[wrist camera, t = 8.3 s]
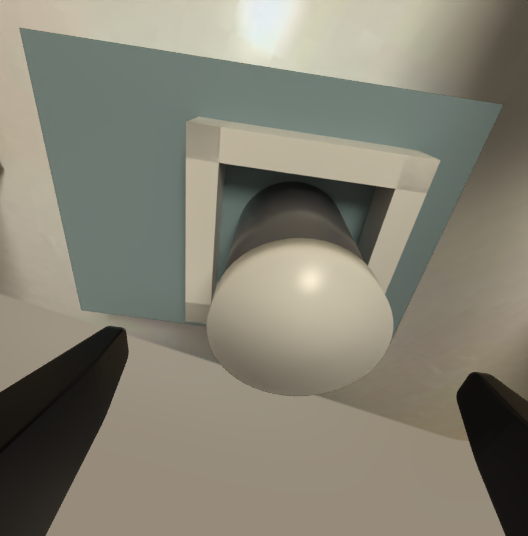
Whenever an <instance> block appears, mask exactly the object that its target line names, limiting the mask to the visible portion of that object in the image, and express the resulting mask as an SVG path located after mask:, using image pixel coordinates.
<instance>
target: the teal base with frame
mask: <svg viewBox="0 0 528 536" xmlns="http://www.w3.org/2000/svg"><path fill="white" fill-rule="evenodd" d="M19 29H20V33H21V38H22V42H23V47H24V51H25V56H26V61H27V65H28V70H29V74H30V79H31V83H32V88H33V92H34V97H35V102H36V106H37V111H38V115H39V120H40V124H41V129H42V133H43V138H44V143H45V147H46V152H47V156H48V161H49V165H50V170H51V174H52V179H53V184H54V188H55V193H56V197H57V202H58V206H59V211H60V215H61V220H62V225H63V229H64V234H65V238H66V243H67V247H68V252H69V256H70V261H71V266H72V270H73V275H74V279H75V284H76V288H77V293H78V297H79V302H80V307H81V310H84V311H91V312H99V313H107V314H115V315H123V316H130V317H138V318H146V319H154V320H161V321H169V322H177V323H185V324H192V325H200V326H206V325H207V317H208V313H209V310H210V307H211V304H212V300H213V297H214V294H215V291H216V287H217V285H218V283H219V281H220V279H221V277H222V276H223V274H224V271H225V268H226V264H227V261H228V257H229V254H230V250H231V247H232V243H233V240H234V237H235V233H236V230H237V226H238V223H239V219H240V216H241V213H242V211H243V209H244V208H245V206H246V204H247V203H248V202H249V201H250V199H251V198H252V197H253V196H255V195H256V194H257V193H258V192H260V191H261V190H263V189H264V188H266V187H268V186H271V185H274V184H277V183H281V182H291V181H293V182H302V183H307V184H310V185H313V186H315V187H317V188H319V189H321V190H322V191H324V192H325V193H326V194H327V195H328V196H329V197H331V199H332V200H333V201H334V202H335V204H336V205H337V207H338V209H339V211H340V213H341V215H342V217H343V219H344V221H345V223H346V225H347V227H348V229H349V231H350V233H351V235H352V237H353V239H354V242H355V244H356V246H357V248H358V250H359V252H360V254H361V256H362V258H363V260H364V262H365V263H366V264H367V266H368V267H369V268H370V269H371V270H372V272H373V273H374V275H375V277H376V279H377V280H378V282H379V284H380V286H381V288H382V290H383V292H384V294H385V296H386V298H387V300H388V302H389V305H390V308H391V310H392V316H393V333H392V338H393V336H394V334H395V332H396V330H397V328H398V325H399V323H400V321H401V319H402V317H403V315H404V313H405V311H406V309H407V306H408V304H409V302H410V300H411V298H412V296H413V294H414V292H415V290H416V288H417V285H418V283H419V281H420V279H421V277H422V275H423V273H424V271H425V269H426V266H427V264H428V262H429V260H430V258H431V256H432V254H433V252H434V250H435V247H436V245H437V243H438V241H439V239H440V237H441V235H442V233H443V231H444V229H445V226H446V224H447V222H448V220H449V218H450V216H451V214H452V212H453V210H454V207H455V205H456V203H457V201H458V199H459V197H460V195H461V193H462V191H463V188H464V186H465V184H466V182H467V180H468V178H469V176H470V174H471V172H472V170H473V167H474V165H475V163H476V161H477V159H478V157H479V155H480V153H481V151H482V148H483V146H484V144H485V142H486V140H487V138H488V136H489V134H490V132H491V129H492V127H493V125H494V123H495V121H496V119H497V117H498V115H499V113H500V110H501V108H502V106H503V105H502V104H496V103H490V102H484V101H477V100H471V99H465V98H458V97H452V96H446V95H440V94H433V93H427V92H421V91H414V90H408V89H402V88H395V87H389V86H383V85H377V84H370V83H364V82H358V81H351V80H345V79H339V78H333V77H326V76H320V75H314V74H307V73H301V72H295V71H289V70H282V69H276V68H270V67H263V66H257V65H251V64H244V63H238V62H232V61H226V60H219V59H213V58H207V57H200V56H194V55H188V54H182V53H175V52H169V51H163V50H156V49H150V48H144V47H138V46H131V45H125V44H119V43H112V42H106V41H100V40H93V39H87V38H81V37H75V36H68V35H62V34H56V33H49V32H43V31H37V30H31V29H24V28H19ZM391 340H392V339H391ZM390 342H391V341H390Z"/></svg>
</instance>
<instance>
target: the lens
mask: <svg viewBox="0 0 528 536" xmlns="http://www.w3.org/2000/svg"><path fill="white" fill-rule="evenodd" d="M206 326H207V337H208V342H209V345H210V347H211V350H212V352H213V354H214V356H215V357H216V359H217V360H218V362H219V363H220V364H221V365H222V366H223V367H224V368H225V369H226V370H227V371H228V372H229V373H230V374H231V375H233V376H234V377H235V378H236V379H238V380H240V381H242V382H243V383H245V384H247V385H249V386H251V387H253V388H256V389H259V390H262V391H265V392H269V393H273V394H279V395H286V396H309V395H318V394H323V393H327V392H331V391H335V390H338V389H340V388H343V387H345V386H347V385H350V384H352V383H354V382H355V381H357V380H359V379H360V378H362V377H363V376H365V375H366V374H367V373H368V372H370V371H371V370H372V369H373V368H374V367H375V366H376V365H377V364H378V363H379V361H380V360H381V359H382V357H383V356H384V354H385V352H386V351H387V349H388V347H389V344H390V341H391V339H392V333H393V316H392V310H391V308H390V305H389V302H388V300H387V298H386V296H385V294H384V292H383V290H382V288H381V286H380V284H379V282H378V280H377V279H376V277H375V275H374V273H373V272H372V270H371V269H370V268H369V267H368V266H367V264H366V263H365V262H364V260H363V258H362V256H361V254H360V252H359V250H358V248H357V246H356V244H355V242H354V239H353V237H352V235H351V233H350V231H349V229H348V227H347V225H346V223H345V221H344V219H343V217H342V215H341V213H340V211H339V209H338V207H337V205H336V204H335V202H334V201H333V200H332V199H331V197H329V196H328V195H327V194H326V193H325V192H324V191H322V190H321V189H319V188H317V187H315V186H313V185H310V184H307V183H302V182H293V181H291V182H281V183H277V184H274V185H271V186H268V187H266V188H264V189H263V190H261V191H260V192H258V193H257V194H256V195H255V196H253V197H252V198H251V199H250V201H249V202H248V203H247V204H246V206H245V208H244V209H243V211H242V213H241V216H240V219H239V223H238V226H237V230H236V233H235V237H234V240H233V243H232V247H231V250H230V254H229V257H228V261H227V264H226V268H225V271H224V274H223V276H222V277H221V279H220V281H219V283H218V285H217V287H216V291H215V294H214V297H213V300H212V304H211V307H210V310H209V313H208V317H207V325H206Z"/></svg>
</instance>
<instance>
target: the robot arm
mask: <svg viewBox="0 0 528 536" xmlns="http://www.w3.org/2000/svg"><path fill="white" fill-rule="evenodd" d="M128 352H129V351H128V343H127V335H126V330H125V329H124V328H122V327H114V326H107V327H105V328H103V329H102V330H100V331H98V332H97V333H95V334H94V335H92V336H91V337H89V338H87V339H86V340H84V341H82V342H81V343H79V344H77V345H76V346H74V347H73V348H71V349H69V350H68V351H66V352H65V353H63V354H61V355H60V356H58V357H56V358H55V359H53V360H52V361H50V362H48V363H47V364H45V365H43V366H42V367H40V368H39V369H37V370H36V371H34V372H32V373H31V374H29V375H27V376H26V377H24V378H22V379H21V380H19V381H18V382H16V383H15V384H13V385H11V386H10V387H8V388H7V389H5V390H3V391H1V392H0V536H46V534H47V532H48V530H49V528H50V525H51V524H52V522H53V520H54V518H55V516H56V514H57V512H58V510H59V508H60V506H61V504H62V502H63V500H64V498H65V496H66V494H67V492H68V490H69V488H70V486H71V484H72V482H73V480H74V478H75V476H76V474H77V472H78V471H79V469H80V467H81V465H82V463H83V461H84V459H85V457H86V455H87V453H88V451H89V449H90V447H91V445H92V443H93V441H94V439H95V437H96V435H97V433H98V431H99V429H100V427H101V425H102V423H103V421H104V418H105V416H106V414H107V411H108V409H109V406H110V404H111V401H112V398H113V396H114V393H115V391H116V388H117V385H118V382H119V380H120V377H121V375H122V372H123V370H124V367H125V364H126V362H127V359H128ZM456 397H457V403H458V406H459V409H460V413H461V416H462V419H463V423H464V426H465V429H466V432H467V436H468V439H469V442H470V446H471V449H472V452H473V455H474V458H475V461H476V463H477V466H478V469H479V471H480V474H481V476H482V479H483V481H484V484H485V486H486V488H487V491H488V494H489V496H490V499H491V501H492V503H493V506H494V508H495V511H496V513H497V515H498V518H499V521H500V523H501V526H502V528H503V530H504V533H505V535H506V536H528V401H526V400H525V399H523V398H522V397H521V396H519V395H518V394H517V393H515V392H514V391H513V390H511V389H510V388H508V387H507V386H506V385H504V384H503V383H502V382H500V381H499V380H498V379H496V378H495V377H494V376H492V375H490V374H487V373H480V372H472V373H470V374H469V375H468V377H467V378H466V380H465V381H464V382H463V384H462V385H461V387H460V388H459V390H458V391H457V396H456Z"/></svg>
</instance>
